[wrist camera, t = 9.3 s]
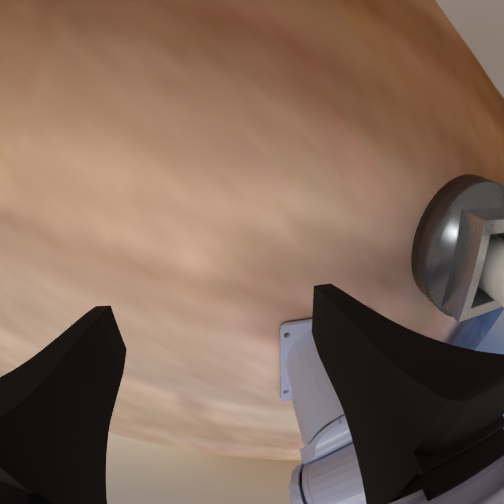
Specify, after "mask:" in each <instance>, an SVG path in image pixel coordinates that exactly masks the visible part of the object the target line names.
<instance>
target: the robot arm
mask: <svg viewBox="0 0 504 504" xmlns="http://www.w3.org/2000/svg"><path fill="white" fill-rule="evenodd" d="M285 333H289V334H287V335H284V334H285ZM125 356H126V347H125V344H124V342H123V339H122V337H121V334H120V331H119V329H118V326H117V323H116V320H115V317H114V315H113V312H112V309H111V306H96V307H94V308H93V309H91V310H90V311H89V312H87V313H86V314H85V315H84V316H82V317H81V318H80V319H79V320H78V321H76V322H75V323H74V324H73V325H72V326H71V327H69V328H68V329H67V330H66V331H65V332H63V333H62V334H61V335H60V336H59V337H58V338H56V339H55V340H54V341H53V342H51V343H50V344H49V345H48V346H46V347H45V348H44V349H43V350H42V351H40V352H39V353H38V354H36V355H35V356H34V357H32V358H31V359H30V360H28V361H27V362H25V363H24V364H22V365H21V366H19V367H18V368H16V369H14V370H13V371H11V372H9V373H7V374H6V375H4V376H2V377H0V504H107V499H106V451H107V440H108V431H109V425H110V420H111V416H112V412H113V408H114V405H115V401H116V397H117V394H118V390H119V386H120V382H121V379H122V375H123V370H124V364H125ZM280 398H281V400H282V401H289V400H292V402H293V406H294V410H295V413H296V417H297V421H298V425H299V428H300V432H301V436H302V440H303V443H304V446H305V447H304V448H302V449H300V454H301V458H302V462H303V463H301V464H299V465H297V466H296V467H295V468H294V470H293V472H292V475H291V480H290V485H289V495H290V500H291V504H504V429H503V428H504V417H503V416H502V415H503V414H504V355H502V354H495V353H487V352H480V351H475V350H470V349H465V348H461V347H457V346H453V345H450V344H447V343H443V342H440V341H437V340H434V339H431V338H429V337H426V336H423V335H421V334H419V333H416V332H414V331H412V330H409V329H407V328H405V327H403V326H401V325H399V324H397V323H395V322H393V321H391V320H389V319H387V318H386V317H384V316H382V315H380V314H379V313H377V312H375V311H373V310H372V309H370V308H368V307H367V306H365V305H364V304H362V303H361V302H359V301H357V300H356V299H354V298H353V297H351V296H350V295H348V294H347V293H345V292H344V291H342V290H340V289H339V288H337V287H336V286H334V285H332V284H325V285H317V286H314V298H313V317H312V319H308V320H301V321H294V322H287V323H283V324H282V325H281V326H280Z"/></svg>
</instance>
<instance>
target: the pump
mask: <svg viewBox="0 0 504 504" xmlns="http://www.w3.org/2000/svg"><path fill="white" fill-rule="evenodd" d="M478 287H479V288H481V289H482V290H483V291H484V292H486V293H487V294H488V295H489V296H490V297H492V298H493V299H494V300H495V301H496V302H497V303H499V304H500V305H501V306H502V307H503V308H504V240H503V239H502V238H500V237H498V236H497V235H495V234H490V239H489V243H488V248H487V252H486V257H485V261H484V265H483V269H482V272H481V276H480V280H479V283H478Z"/></svg>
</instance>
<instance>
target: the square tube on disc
mask: <svg viewBox="0 0 504 504" xmlns="http://www.w3.org/2000/svg"><path fill="white" fill-rule="evenodd" d="M490 234H495V235H497V236H498V237H500V238H502V239H503V240H504V185H502V184H499V183H496V182H494V181H491V180H488V179H485V178H483V177H480V176H477V175H463V176H459V177H457V178H455V179H453V180H451V181H450V182H448V183H447V184H446V185H445V186H443V187H442V188H441V189H440V190H439V191H438V193H437V194H436V195H435V196H434V197H433V199H432V200H431V202H430V203H429V205H428V206H427V208H426V210H425V212H424V214H423V216H422V218H421V220H420V223H419V225H418V228H417V231H416V234H415V238H414V243H413V248H412V271H413V276H414V279H415V282H416V284H417V286H418V288H419V289H420V290H421V291H422V292H423V293H424V294H425V295H426V296H427V297H428V298H429V299H430V300H431V301H432V302H433V303H434V304H435V305H436V306H437V307H438V308H439V309H440V310H441V311H442V312H443V313H444V314H446V315H448V316H452V317H454V318H455V319H456V320H457V321H458V322H461V321H464V320H467V319H470V318H473V317H475V316H478V315H481V314H484V313H486V312H489V311H492V310H494V309H497V308H499V307H502V306H501V305H500V304H499V303H497V302H496V301H495V300H494V299H493V298H492V297H490V296H489V295H488V294H487V293H486V292H484V291H483V290H482V289H481V288H479V287H478V283H479V280H480V276H481V272H482V269H483V265H484V261H485V257H486V252H487V248H488V243H489V239H490Z"/></svg>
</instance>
